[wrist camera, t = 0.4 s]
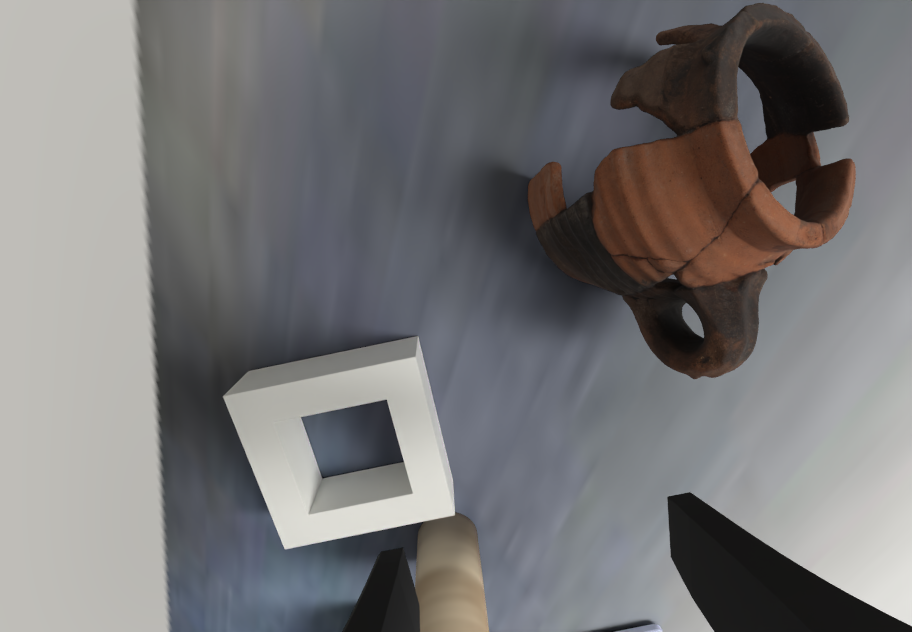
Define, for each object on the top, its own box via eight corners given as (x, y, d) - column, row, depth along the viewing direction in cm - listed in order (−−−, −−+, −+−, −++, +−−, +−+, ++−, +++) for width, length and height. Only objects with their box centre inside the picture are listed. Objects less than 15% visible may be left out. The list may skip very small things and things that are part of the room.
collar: (452, 479, 22) (455, 515, 20) (301, 510, 22) (284, 549, 20) (418, 335, 20) (415, 356, 17) (248, 371, 20) (222, 396, 17)
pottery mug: (488, 116, 18) (662, -53, 10) (644, 111, 22) (848, -12, 14) (556, 397, 18) (767, 430, 11) (695, 339, 22) (918, 335, 15)
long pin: (482, 553, 24) (500, 699, 17) (425, 564, 24) (420, 715, 17) (471, 506, 23) (486, 641, 16) (411, 518, 23) (402, 658, 16)
